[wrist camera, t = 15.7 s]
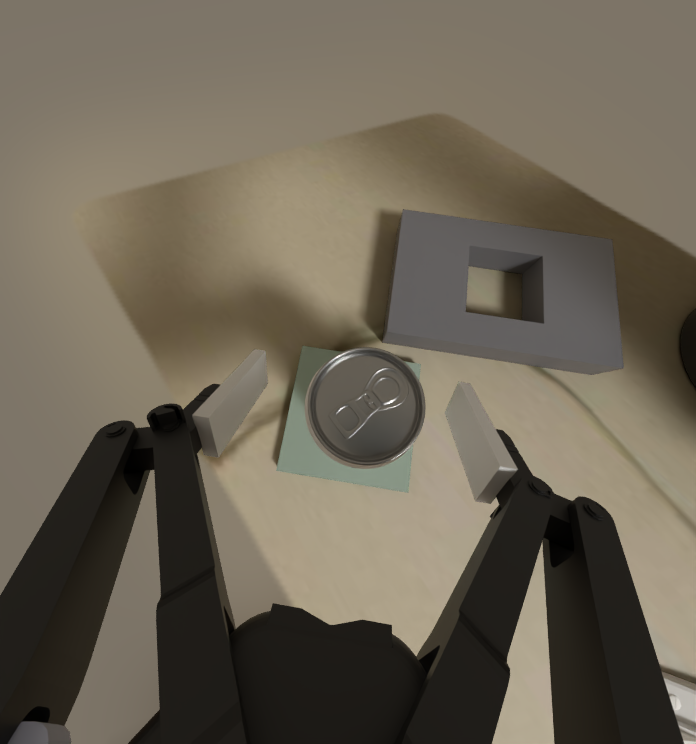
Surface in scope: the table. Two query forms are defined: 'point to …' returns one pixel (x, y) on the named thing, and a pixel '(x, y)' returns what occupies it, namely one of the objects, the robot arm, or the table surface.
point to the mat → (309, 458)
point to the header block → (539, 293)
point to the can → (365, 408)
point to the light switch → (683, 705)
